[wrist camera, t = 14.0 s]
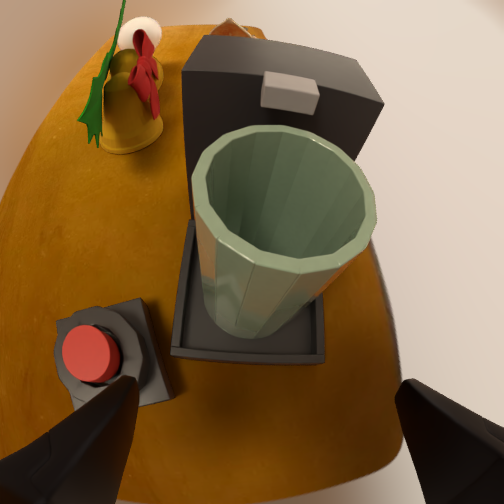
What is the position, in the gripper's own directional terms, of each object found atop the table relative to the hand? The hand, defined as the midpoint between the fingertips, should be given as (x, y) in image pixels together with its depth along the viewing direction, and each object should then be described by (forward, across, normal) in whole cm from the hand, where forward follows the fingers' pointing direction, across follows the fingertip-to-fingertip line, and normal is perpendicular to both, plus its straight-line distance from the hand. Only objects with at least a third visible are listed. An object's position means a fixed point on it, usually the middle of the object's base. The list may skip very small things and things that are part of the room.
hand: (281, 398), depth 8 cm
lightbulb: (+35, +18, -19) cm, 43 cm away
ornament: (+25, +14, -10) cm, 31 cm away
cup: (+12, 0, +2) cm, 13 cm away
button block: (+8, +9, +7) cm, 14 cm away
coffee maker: (+15, 0, +1) cm, 15 cm away
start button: (+6, +9, +5) cm, 12 cm away
